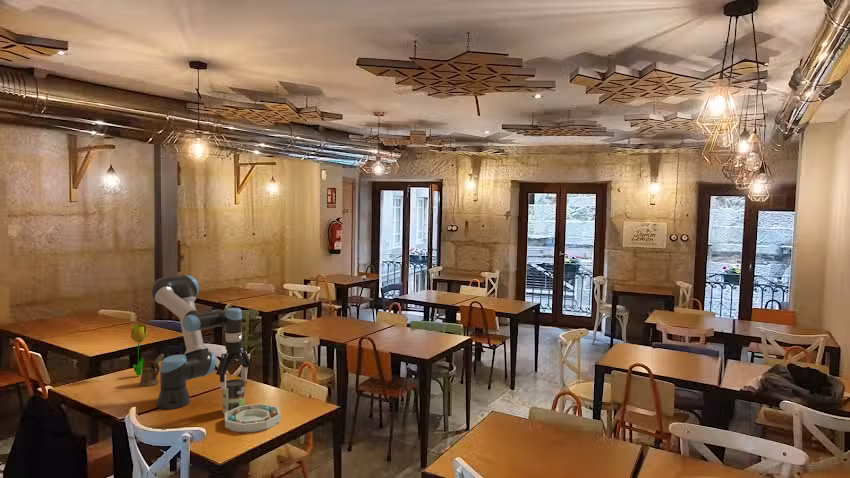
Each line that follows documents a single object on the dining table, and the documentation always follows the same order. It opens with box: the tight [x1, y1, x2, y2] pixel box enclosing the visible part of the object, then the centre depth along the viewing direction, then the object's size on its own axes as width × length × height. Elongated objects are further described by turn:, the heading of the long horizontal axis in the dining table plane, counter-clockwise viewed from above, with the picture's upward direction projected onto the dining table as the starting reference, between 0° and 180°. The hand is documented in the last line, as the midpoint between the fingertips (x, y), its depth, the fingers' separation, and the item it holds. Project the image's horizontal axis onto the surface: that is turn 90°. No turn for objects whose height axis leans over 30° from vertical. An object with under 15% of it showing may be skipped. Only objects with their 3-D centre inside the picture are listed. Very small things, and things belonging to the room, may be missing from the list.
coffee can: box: [221, 379, 246, 415], centre depth 264 cm, size 10×10×14 cm
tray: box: [224, 403, 282, 433], centre depth 252 cm, size 24×24×4 cm
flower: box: [130, 323, 149, 377], centre depth 312 cm, size 9×8×30 cm
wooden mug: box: [139, 353, 165, 387], centre depth 300 cm, size 9×14×18 cm, turn 75°
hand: (234, 384), depth 263 cm, fingers open, 13 cm apart
